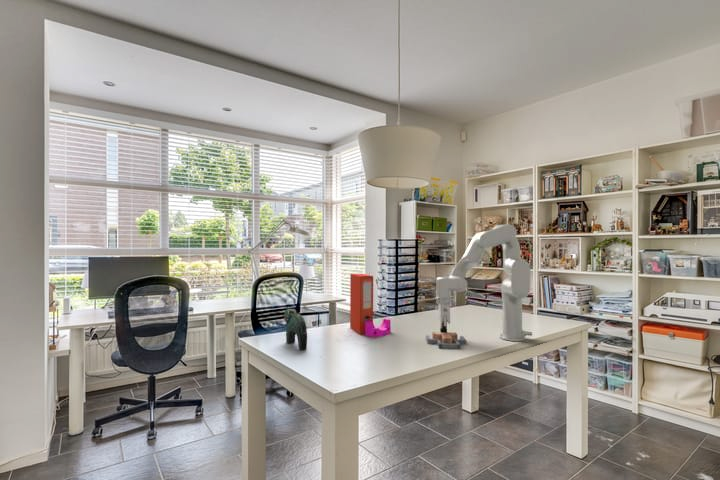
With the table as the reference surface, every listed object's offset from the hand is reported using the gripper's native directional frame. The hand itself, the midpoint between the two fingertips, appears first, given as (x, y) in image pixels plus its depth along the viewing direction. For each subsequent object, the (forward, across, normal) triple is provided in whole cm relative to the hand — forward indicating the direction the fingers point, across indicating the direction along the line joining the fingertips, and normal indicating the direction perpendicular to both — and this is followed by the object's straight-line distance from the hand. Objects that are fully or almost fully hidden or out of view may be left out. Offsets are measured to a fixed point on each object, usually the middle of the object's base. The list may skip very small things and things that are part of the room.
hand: (443, 335), depth 193 cm
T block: (+2, -8, 0) cm, 8 cm away
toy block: (+2, +8, +34) cm, 35 cm away
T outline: (+2, -8, 0) cm, 8 cm away
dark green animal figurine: (+2, -17, +74) cm, 76 cm away
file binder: (+2, +16, +44) cm, 47 cm away
